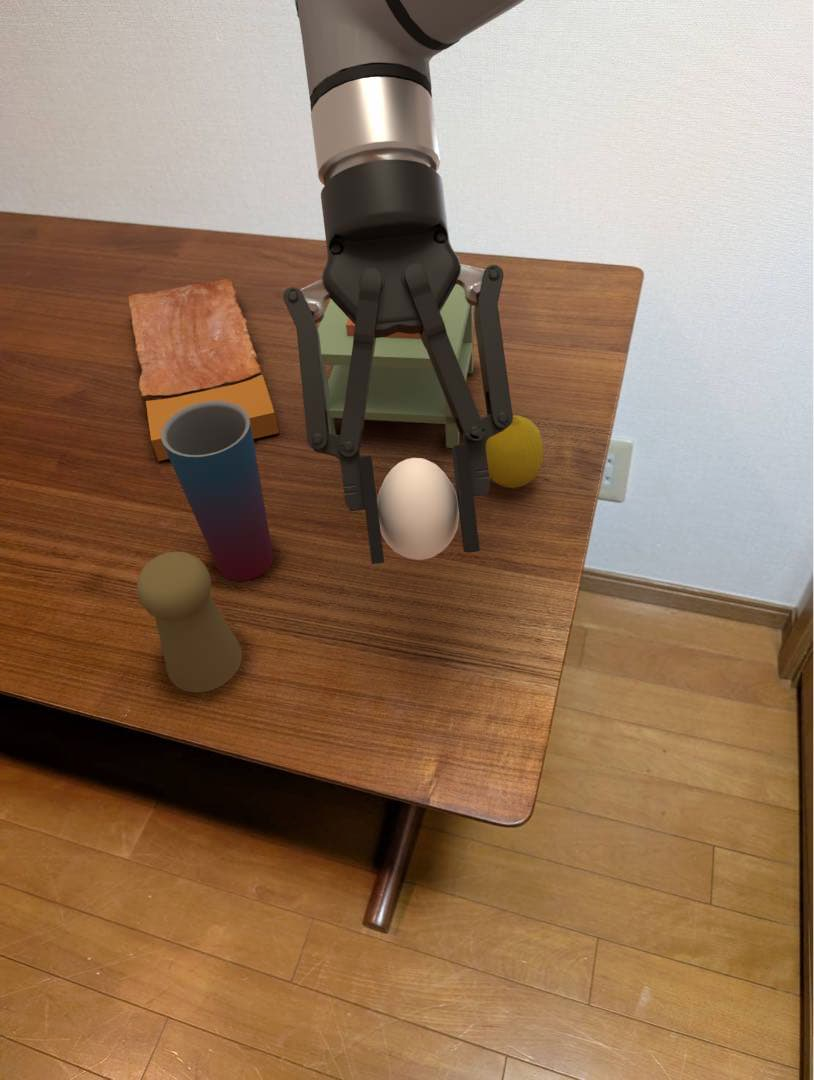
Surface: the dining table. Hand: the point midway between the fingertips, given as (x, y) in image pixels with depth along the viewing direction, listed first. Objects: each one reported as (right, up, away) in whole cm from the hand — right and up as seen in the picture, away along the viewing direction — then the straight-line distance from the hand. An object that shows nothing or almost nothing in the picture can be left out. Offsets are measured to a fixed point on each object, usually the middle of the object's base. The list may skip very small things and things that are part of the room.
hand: (424, 556), depth 51 cm
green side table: (-2, +16, +37) cm, 41 cm away
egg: (0, 0, +5) cm, 5 cm away
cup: (-16, -1, +23) cm, 28 cm away
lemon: (+9, +6, +28) cm, 30 cm away
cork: (-17, -9, +15) cm, 25 cm away
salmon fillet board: (-25, +20, +44) cm, 54 cm away
